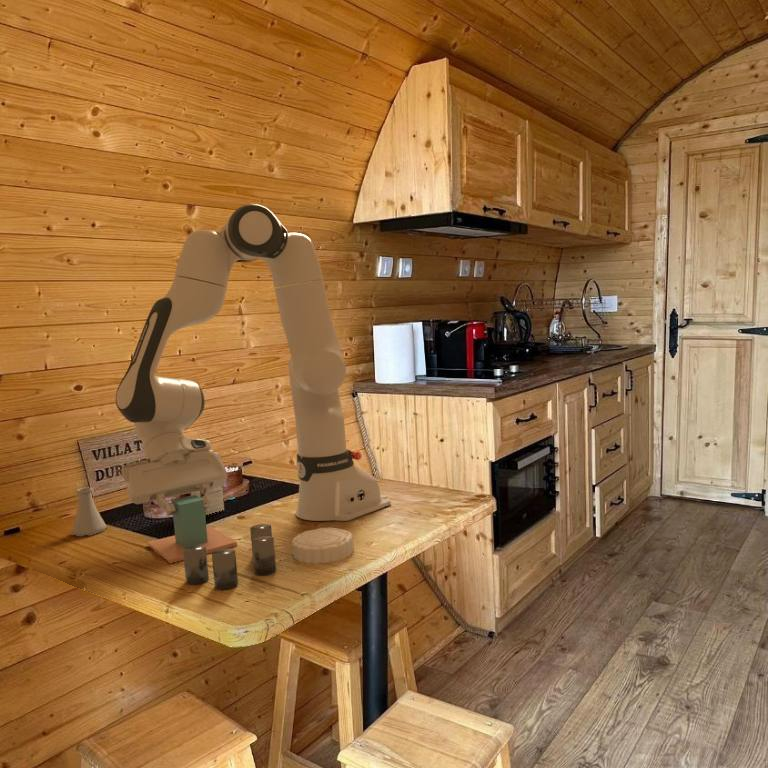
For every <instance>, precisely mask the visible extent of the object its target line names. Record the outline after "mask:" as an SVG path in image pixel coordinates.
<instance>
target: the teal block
mask: <svg viewBox="0 0 768 768" xmlns="http://www.w3.org/2000/svg"><path fill="white" fill-rule="evenodd" d="M172 503H173V504H174V507H175V509H176V512H175V514H173V515H172V521H173V528H174V535H175V540H176V543H178V544H179V545H180V546H182V547H183V548H185V547H187V546H191V545H197V544H202V543H206V542H208V539H207V528H206V527H207V521H206V516H205V507H204V499H202V498H200V497H198V496H196V495H192V496H191V495H188V496H184V497H183V496H182V497H179V498H174V499H171V504H172Z"/></svg>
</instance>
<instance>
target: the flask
mask: <svg viewBox="0 0 768 768" xmlns="http://www.w3.org/2000/svg"><path fill="white" fill-rule="evenodd" d="M92 491H93V487H82V488H78V489H77V490H76V491H75V493H76V494H77V495H78V505H77V510H76V515H75V519H74V523H73V526H72V528H71V529H72V530H71V533H70V535H71V536H74V535H76V536H75V537H85V536H84V535H88V536H94V535H97V534H99V533H102V532H104V531H105V530H106V529H107V527H108V526H107V525H106V523H105V521H104V519H103V518H102V516H101V514H100V513H99V510H98V508H97V507H96V505H95V502H94V498H93V495H92ZM105 528H106V529H105ZM96 533H97V534H96ZM93 534H94V535H93Z"/></svg>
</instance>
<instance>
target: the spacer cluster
mask: <svg viewBox="0 0 768 768" xmlns="http://www.w3.org/2000/svg"><path fill="white" fill-rule="evenodd" d="M249 529H250V530H249V531H250V541H251V551H252V552H251V554H252V563H253V564H252V565H253V573H254V575H256V576H259V577H262V576H270V575H272V574H274V573H276V572H277V565H276V564H277V562H276V551H275V538H274V537H273V532H272V525H271V524H269V523H260V524H254V525H252V526H250V528H249ZM207 555H208V554H207V553H206V546H205V545H202V544H197V545H191V546H187V547H185V548H184V549H183V556H184V560H183V563H184V565H183V566H184V575H185V583H186V585H191V586H196V585H201V584H204V583H207V582H208V581H209V579H210V576H209V564H208V556H207ZM236 557H237V556H236V550H235V549H234V548H227V549H220V550H216V551H214V552H212V553H211V560H212V561H211V563H212V572H213V580H214V581H213V583H214V588H215V589H216V590H217V591H227V590H232V589H234V588H236V587H237V586H238V585H239V578H238V569H237V558H236Z"/></svg>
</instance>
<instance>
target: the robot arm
mask: <svg viewBox="0 0 768 768" xmlns="http://www.w3.org/2000/svg"><path fill="white" fill-rule="evenodd" d="M180 251H181V252H180V255H179V257H178V260H177V264H176V267H175V273H174V277H173V281H172V284H171V286H170V287H169V289H168V291H167V293H166V294H165V296H164V297H162V298H159V299H158V300H156V301H155V303H153V304H152V307H151V309H150V311H149V313H148V316H147V318H146V321H145V323H144V326H143V328H142V329H141V330H142V331H141V333H140V335H139V337H138V338H139V339H138V342H137V344H136V347H135V350H134V352H133V355H132V357H131V360H130V363H129V365H128V368H127V370H126V373H125V374H124V376H123V377H122V379H121V381H120V383H119V385H118V387H117V390H116V393H115V405H116V407H117V409H118V411H119V413H120V414H121V415H122V417H124V419H126V420H127V421H128V422H130V423H132V424H134V427H135V431H136V434H137V437H138V439H139V440H140V441H141V442H142V447H143V453H144V455H145V458H146V459H142V460H139V461H130V462H127V464H126V465H124V466H123V467H122V468H121V475H122V478H123V480H124V481H125V482H127V490H128V496H129V499H130V502H131V503H133V504H135V505H140V504H145V503H150V502H153V501H155V502H156V504H157V505H158V507H160V508H161V509H163V510H164V511H165V513H166V515H167V516H166V517H169V516H173V514H175V512H176V509H175V507H174V504H173V503H172V502H171V503H169V502H168V501H166V500H165V499H168V498H172V497H177V496H182V495H185V494H186V495H187V494H191V493H192V492H196V491H201V493H202V494H204V493H205V495H204V496H203V497H201V498H202V499H204V507H208V506H210V499H209V497H208V495H209V491H210V488H215V487H220V486H222V487H223V485H224V484H225V482H226V480H227V477H228V472H227V469H226V467H225V465H224V463H223V461H222V460H221V457H220V458H219V456H218V455H217V454H216V453H217V452H216V451H214V450H211V449H212V444H211V442H210V441H209V439H208V440H207V439H199V438H192V437H191V438H190V437H185V436H184V435H183V433H184V432H183V431H184V430H187V429H189V428H190V426H192V425H193V424H194V423H195V422H196V421H197V420H198V419H199V417H201V415H202V414H203V412H204V411H205V405H206V404H205V403H206V402H205V396H204V392H203V390H202V387H201V386H200V385H199V384H198V383H197V382H196V381H194V380H191V379H184V378H177V377H176V378H175V377H167V376H166V377H165V376H160V375H159V376H157V375H156V372H157V369H158V366H159V364H160V361H161V358H162V356H163V352H164V350H165V347H166V344H167V342H168V341H169V339H170V337H171V336H172V335H173V334H174V333H176V332H177V331H179V330H182V329H185V328H188V327H191V326H196V325H201V324H204V323H206V322H209V321H210V320H212V319H214V318H215V317H216V316H217V315H218V314H219V313H220V312H221V309H223V306H224V303H225V299H226V294H227V289H228V283H229V278H230V274H231V270H232V269H233V266H234V265H235V263H247V262H248V263H249V262H250V263H251V262H254V261H258V260H261V261H263V262H264V263H266V265H267V266H268V268H269V270H270V273H271V275H272V281H273V282H272V283H273V287H274V292H275V297H276V303H277V307H278V312H279V316H280V321H281V324H282V328H283V332H284V334H285V337H286V338H285V339H286V341H287V344H288V349H289V352H290V353H289V354H290V357H289V360H288V367H287V368H288V376H289V384H290V392H291V399H292V406H293V412H294V419H295V427H296V428H295V431H296V440H297V441H296V443H297V454H296V469H297V477H298V482H299V483H298V484H299V485H298V498H297V499H298V500H297V506H296V510H295V516H296V517H297V518H299V519H302V520H305V521H306V520H307V521H315V522H316V521H319V522H323V521H327V522H328V521H340V522H345V521H351V520H353V519H356V518H358V517H361V516H363V515H367V514H370V513H372V512H375V511H378V510H381V509H383V508H385V506H386V507H388V506H390V505H392V504H391V499H390V498H389V496H386V495H384V494H383V493H381V489H380V485H379V482H378V480H377V479H376V477H374V476H373V475H371V474H370V473H368V472H367V471H366V470H364V469H362V468H360V467H359V466H358V465H356V464H355V462H354V460H356V461H360V460H361V459H362V457H363V456H362V455H363V454H362V452H361V451H360V450H359V451H358V450H353V451H352V450H349V449H347V442H346V428H345V427H346V426H345V417H344V412H343V409H342V404H341V403H342V402H341V397H340V392H339V389H340V387H341V386H342V385H343V384H344V382H345V381H346V380H345V379H346V377H347V367H346V364H345V360H344V355H343V353H342V352H343V351H342V349H341V345H340V342H339V338H338V337H339V336H338V334H337V331H336V327H335V324H334V322H333V318H332V314H331V310H330V305H329V299H328V296H327V290H326V287H325V285H326V284H325V280H324V275H323V270H322V267H321V263H320V259H319V258H318V254H317V252H316V249H315V245H314V244H313V241H312V240H311V239H310V238H309V237H308V236H307V235H305V234H302V233H298V232H288V230H287V229H286V227H285V226H284V225H283V223H281V221H280V220H279V219H278V218H277V216H276V215H275V214H274V213H273V212H272V211H271V210H270V209H269V208H267V207H266V206H263V205H260V204H255V203H249V204H244V205H242V206H240V207H238V208H237V209H235V211H234V212H233V213H231V215H230V216H229V218H228V219H227V221H226V223H225V224H224V226H223V227H222V229H221V230H210V229H198V230H195V231H192V232H191V233H189V234H188V235H187V237H186V239H185V241H184V244H183V246H182V249H181V250H180ZM215 452H216V453H215Z"/></svg>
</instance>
